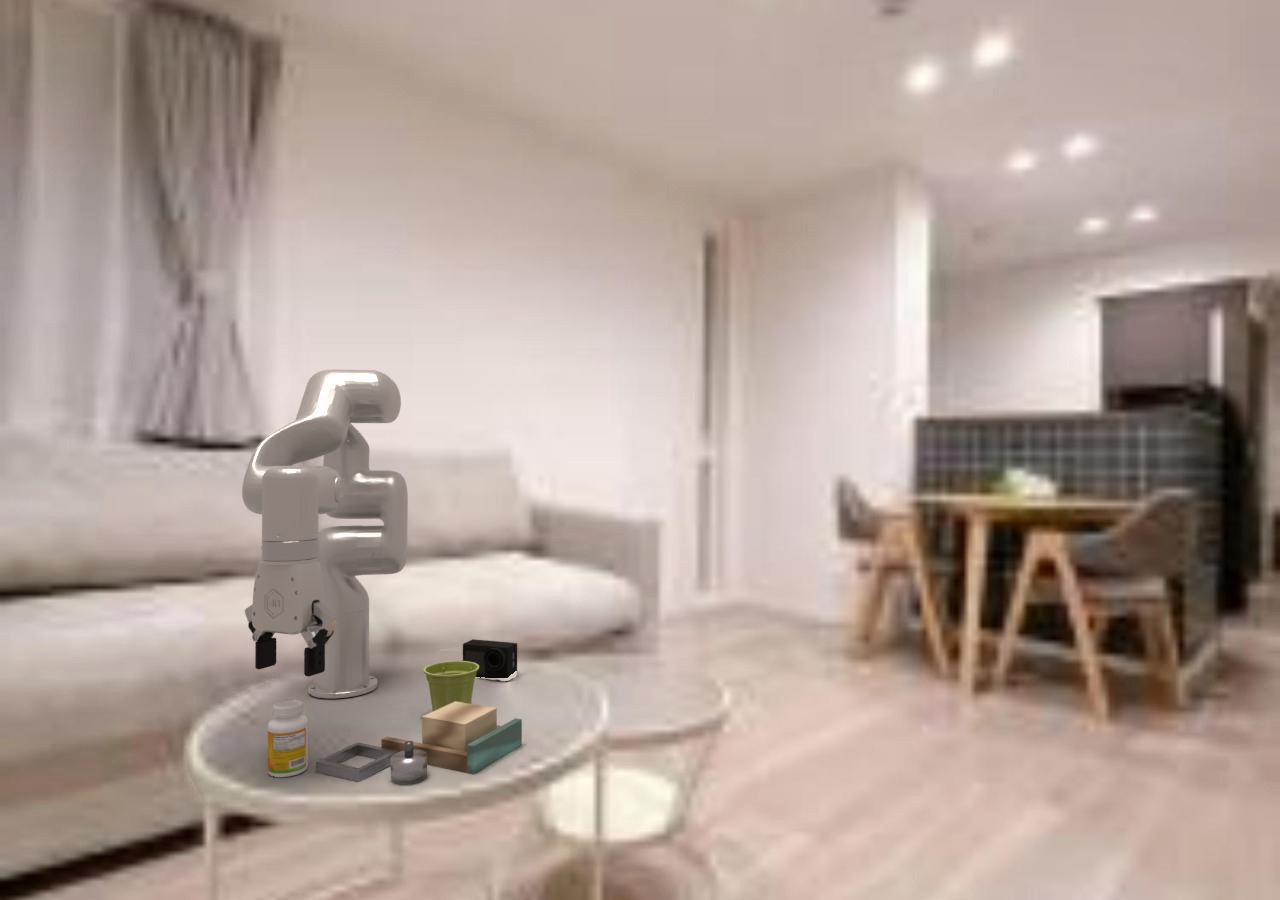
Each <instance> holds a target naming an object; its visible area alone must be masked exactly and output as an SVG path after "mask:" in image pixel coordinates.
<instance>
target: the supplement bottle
mask: <svg viewBox="0 0 1280 900" xmlns="http://www.w3.org/2000/svg"><path fill="white" fill-rule="evenodd" d="M303 710H304V703H303V701H302V700H300V699H287V700H282V701H279V702H278V701H277V702H276V703H275V704H273V705H272V716H273V717H274V718H272V719H270V721H269V722H268V724H267V773H268V775H269V774H270V775H269V776H271V777H273V776H274V777H273V778H287V777H293V776H296V775H299V774H301V773H303V772H305V771H306V770H307V769H308V767H309V722H308V718H307V716H306V715H303V714H302V713H303V712H304V711H303Z"/></svg>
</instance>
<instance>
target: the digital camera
mask: <svg viewBox="0 0 1280 900" xmlns="http://www.w3.org/2000/svg"><path fill="white" fill-rule="evenodd" d="M462 661H468V662H473V663H476V664H478V665H479V669H478V671H477V672H476V677H480V678H481V677H485V678H508V677H509V676H510V675H511V674H513V673H514V672H515V671H517V672H518V643H517V642H509V641H497V640H496V641H495V640H487V639H486V640H485V639H475V638H474V639H470V640H468V641H467V642H464V643H462Z"/></svg>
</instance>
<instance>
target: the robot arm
mask: <svg viewBox="0 0 1280 900" xmlns="http://www.w3.org/2000/svg"><path fill="white" fill-rule="evenodd" d="M401 400H402V399H401V394H400V389H399V387H398V385H397V383H396V382H395V381H394V380H393V379H392V378H391V377H390V376H389V375H387V374H385V373H383V372H381V371H378V370H372V369H371V370H370V369H324V370H320V371H317V372H316V373H314V374H313V375H312V376H311V377H310V378H309V379H308V382H307V383H306V387H305V390H304V392H303V395H302V398H301V401H300V404H299V408H298V412H297V413H296V417H295V420H293V421H292V422H289V423H288V424H286V425H284V426H282V427H280V428H279V429H278V430H276V431H274V432H273V433H272V434H270V435H269V436H267V437H266V438H265V439H263V440H262V441H261V442H260V443H259V444H258V445H257V446H256V448H255V449H254V450H253V453H252V455H251V458H250V460H249V463H248V465H247V468H246V471H245V473H244V477H243V481H242V487H241V497H242V500H243V503H244V506H245V507H246V508H247V509H248V510H249V511H250V512H251V513H254V514H257V515H261V547H260V548H261V561H258V564H257V568H256V572H255V576H254V577H255V578H254V582H253V583H254V584H253V592H252V603H251V605H249V606H247V607H246V608H245V609H244V615H245V617H246V621H247V622H248V625H247V626H248V629H249V631H250V632H251V634H252V636H251V638H252V640H253V642H255V651H254V652H255V657H254V659H255V660H254V661H255V666H254V667H255V669H257V670H262V669H265V668H271V667H274V666H275V665H276V664H277V637H273V636H274V635H275V634H283V635H293V636H294V635H300V634H301V637H302V638H303V640H304V641H305V643H306V645H307V647H305V648H304V651H303V656H304V657H303V658H304V659H303V666H304V667H303V669H304V670H303V675H304V676H305V677H312V676H313V679H312V681H313V682H311V683H310V684H309V685H308V687H307V688H308V689H307V691H309V693H308V695H310V694H311V695H310V696H312V697H315V698H318V699H333V700H334V699H345V698H353V697H357V696H361V695H364V694H369V693H371V692H372V691H374V690H375V689H376V688H378V686H379V685H378V683H379V682H378V679H377V677H375V676H373V675H370V597H369V594H368V592H367V589H365V586H363V584H362V583H361V582H360V581H359V579H358V578H357V577H359V576H372V575H375V576H376V575H379V576H380V575H393V574H397V573H399V572H401V571H403V569H404V568H405V565H406V562H407V557H408V519H409V518H408V515H409V514H408V513H409V512H408V510H409V509H408V508H409V507H408V505H409V500H408V498H409V497H408V493H409V492H408V488H407V481H406V479H405V477H404V476H403V475H402V474H401V473H399V472H398V471H395V470H371V469H370V446H369V444H368V441H367V440H366V439H365V437H364V436H363V435H362V433H361V432H360V431H359V430H358V429H357V428H356V427H355V426H354V425H353V424H390V423H393V422H394V421H396V420H397V418H398V417H399V414H400V411H401V407H402V406H401V405H402V403H401ZM322 456H323V465H297V464H299V463H304V462H307V461H310V460H314V459H318V458H320V457H322ZM324 514H325V515H327V516H328V517H330V518H334V519H342V520H367V519H368V520H370V519H375V520H378V519H379V520H381V521H382V522H383V525H337V526H336V525H335V526H330V527H326V528H323V529H321V530H319V515H324ZM356 576H357V577H356ZM312 633H314V635H313V634H312Z"/></svg>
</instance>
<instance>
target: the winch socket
mask: <svg viewBox="0 0 1280 900" xmlns="http://www.w3.org/2000/svg"><path fill="white" fill-rule="evenodd" d="M413 742H414V740H408V741H406V742H405V751H401V752H399V751H398V750H393V749H388V748H383V747H381V746H377V745H373V744H367V743H364V742H363V743H362V742H358V741H357V742H355V743H353V744H351V745H349V746H347V747H345V748H342V749H340V750H337V751H335V752H334V753H331V754H330V755H326V756H324V757H323V758H320V759H318V760H316V761H315V772H316V773H319V774H324V775H328V776H333V777H336V778H341V779H345V780H351V781H354V782H358V783H359V782H361V781H363V780H365V779H367V778H368V777H369V778H370V777H371V776H373V775H375V774H376V773H378V772H381V771H382V770H384V769H386V768H389V767H390V782H391V783H392V784H394V785H400V786H409V785H414V784H415V785H416V784H419V783H421V782H423V781H424V780H426V779H427V777H428V764H427V753H426V752H425V751H422V750H413ZM356 756H363V757H367V758H372V759H374V760H372V761H370V762H368V763H366V764H364V765H362V766H360V767H356V766H351V765H347V764H343V762H345V761H347V760H349V759H352V758H354V757H356ZM408 784H409V785H408Z"/></svg>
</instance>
